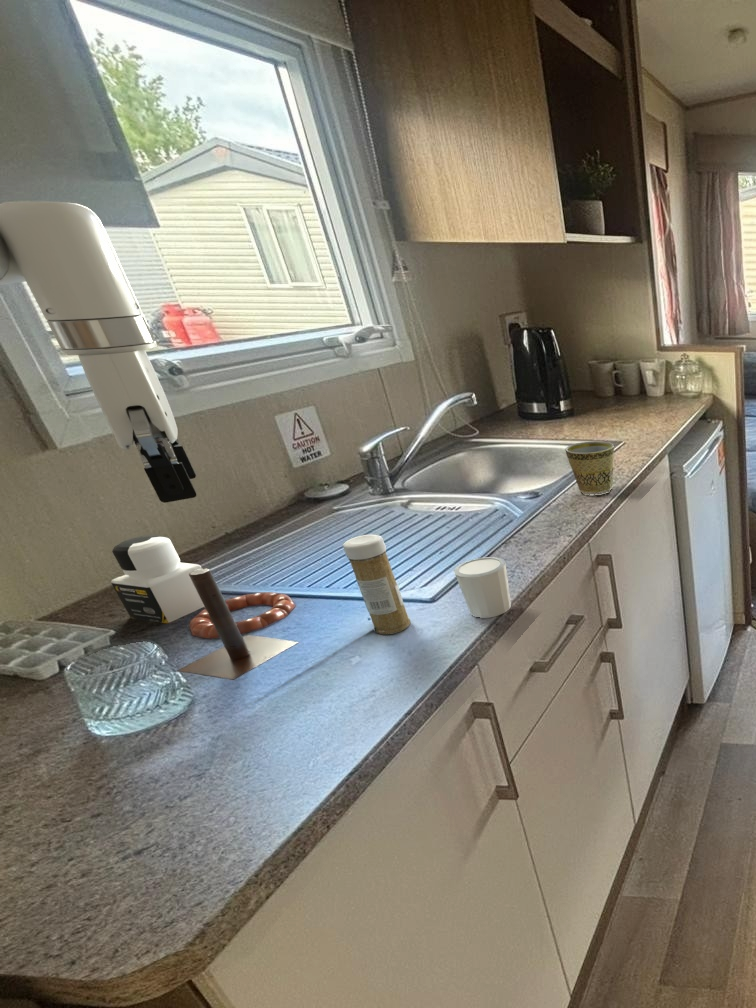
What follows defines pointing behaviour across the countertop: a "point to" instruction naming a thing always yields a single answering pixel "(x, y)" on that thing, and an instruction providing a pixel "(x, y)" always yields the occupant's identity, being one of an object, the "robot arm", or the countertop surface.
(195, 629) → the ring
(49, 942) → the countertop surface
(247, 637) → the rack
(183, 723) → the countertop surface
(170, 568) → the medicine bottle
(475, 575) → the white tapered tub
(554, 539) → the countertop surface
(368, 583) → the sprinkles bottle
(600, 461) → the ceramic cup
